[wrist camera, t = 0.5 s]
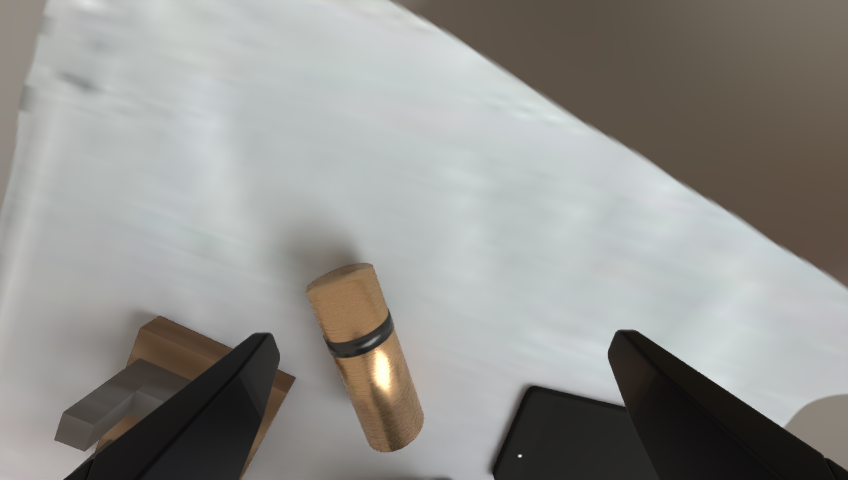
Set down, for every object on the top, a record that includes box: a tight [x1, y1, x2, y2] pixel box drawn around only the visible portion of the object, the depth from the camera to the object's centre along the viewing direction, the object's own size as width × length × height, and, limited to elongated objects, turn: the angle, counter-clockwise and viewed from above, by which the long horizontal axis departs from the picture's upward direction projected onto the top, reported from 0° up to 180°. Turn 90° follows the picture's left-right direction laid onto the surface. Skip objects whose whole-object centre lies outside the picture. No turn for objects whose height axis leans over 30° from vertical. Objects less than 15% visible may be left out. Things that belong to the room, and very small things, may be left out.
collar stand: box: [54, 316, 295, 480], centre depth 21 cm, size 14×10×6 cm
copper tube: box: [306, 263, 424, 452], centre depth 20 cm, size 11×4×4 cm, turn 16°
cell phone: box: [493, 386, 659, 480], centre depth 24 cm, size 9×18×1 cm, turn 75°
